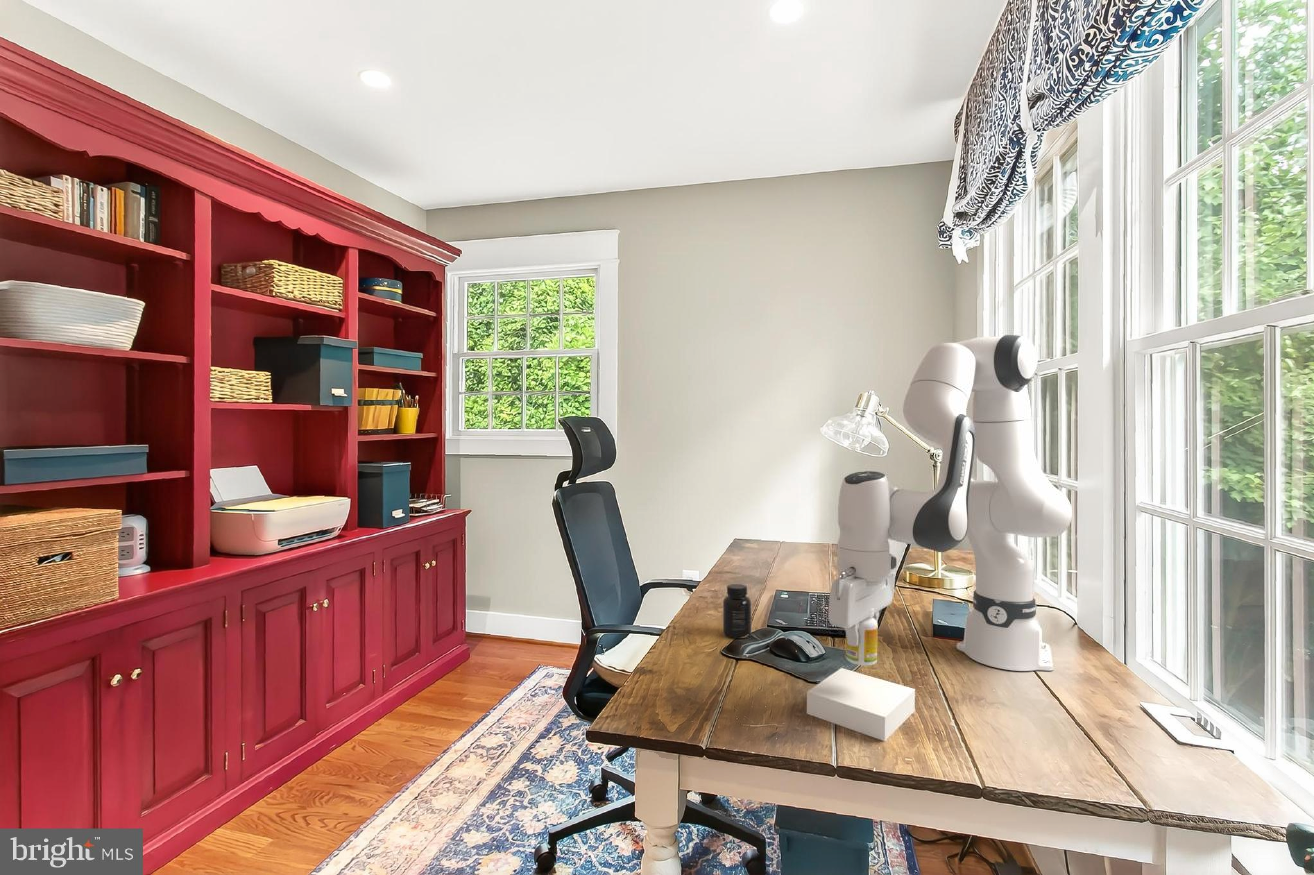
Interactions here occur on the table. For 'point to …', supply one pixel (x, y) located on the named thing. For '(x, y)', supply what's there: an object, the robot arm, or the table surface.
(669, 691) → the table surface
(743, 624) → the supplement bottle
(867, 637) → the supplement bottle
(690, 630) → the table surface
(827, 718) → the plinth
